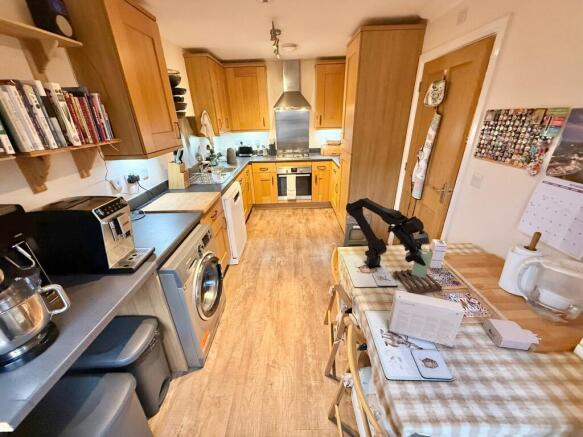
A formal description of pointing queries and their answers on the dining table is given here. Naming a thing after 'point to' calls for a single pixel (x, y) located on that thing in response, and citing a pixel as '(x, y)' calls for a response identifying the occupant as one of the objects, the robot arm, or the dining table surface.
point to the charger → (509, 334)
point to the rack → (418, 289)
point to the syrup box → (437, 253)
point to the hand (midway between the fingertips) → (424, 262)
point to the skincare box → (425, 317)
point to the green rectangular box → (420, 269)
